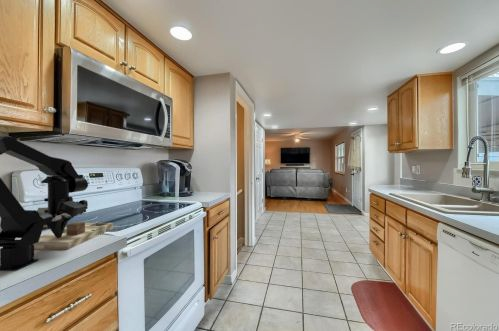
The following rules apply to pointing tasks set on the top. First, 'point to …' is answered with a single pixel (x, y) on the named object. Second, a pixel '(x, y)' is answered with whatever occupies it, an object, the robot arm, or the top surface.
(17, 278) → the top surface
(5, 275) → the top surface
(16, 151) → the robot arm
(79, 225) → the walnut block
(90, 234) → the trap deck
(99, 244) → the top surface
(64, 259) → the top surface
